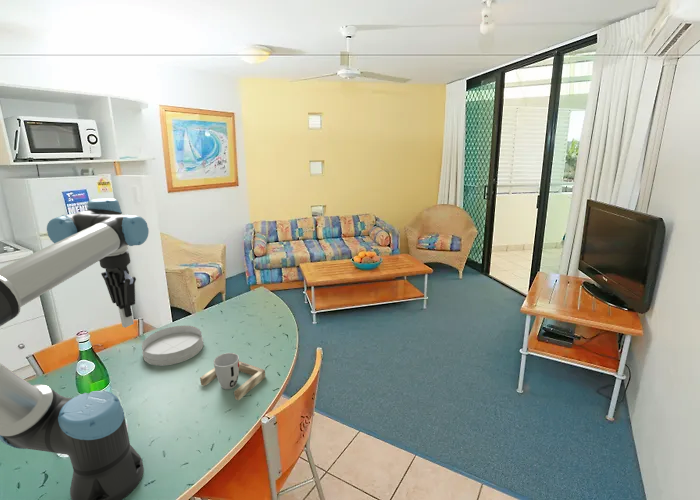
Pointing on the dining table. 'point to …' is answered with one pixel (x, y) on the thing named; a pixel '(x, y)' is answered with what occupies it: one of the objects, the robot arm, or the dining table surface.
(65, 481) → the dining table surface
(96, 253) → the robot arm
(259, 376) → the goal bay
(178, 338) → the dish
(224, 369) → the cup
